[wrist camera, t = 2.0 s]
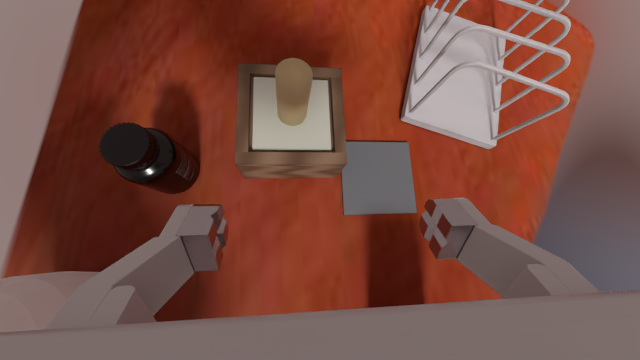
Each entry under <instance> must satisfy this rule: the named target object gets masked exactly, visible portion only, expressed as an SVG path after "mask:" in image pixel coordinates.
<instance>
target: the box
mask: <svg viewBox="0 0 640 360" xmlns="http://www.w3.org/2000/svg"><path fill="white" fill-rule="evenodd" d="M276 67H277V65H269V64H251V63H239V67H238V95H237V124H236V152H235V164H236V166H237V167H238V168H239V170H240V171H241V173H242V174H243V176H244V177H245V178H335V177H336V176H337V175H338V174H339V173H340V171H341V170H342V169H343V168H344V167H345V166H346V165H347V152H346V137H345V121H344V106H343V90H342V75H341V68H323V67H310V68H311V69H312V72H313V80H328V94H329V114H330V133H331V150H330V151H253V149H252V139H253V89H254V77H267V78H275V70H276Z"/></svg>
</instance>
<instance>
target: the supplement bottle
mask: <svg viewBox="0 0 640 360" xmlns="http://www.w3.org/2000/svg"><path fill="white" fill-rule="evenodd" d="M99 148H100V152H101V155H102V156H103V158H104V159H105V160H106V161H107V162H108V163H110V164H112V165H114V168H115V170H116V171H117V172H118V174H119V175H120V176H121V177H123V178H124V179H126V180H128V181H130V182H133V183H136V184H139V185H142V186H145V187H148V188H151V189H154V190H157V191H160V192H163V193H168V194H177V193H181V192H184V191H186V190H187V189H189V188H190V187H191V186H192V185H193V184H194V183H195V182H196V180H197V178H198V175H199V165H198V162H197V160H196V159H195V157H194V156H193V155H192V154H191V153H190V152H188V151H187V150H186V149H185V148H184V147H182V146H181V145H180V144H179V143H177V142H176V141H175V140H174V139H172V138H171V137H170V136H169V135H167V134H166V133H164V132H163V131H161V130H158V129H155V128H143V127H141V126H140V125H137V124H135V123H122V124H120V123H119V124H117V125H114V126H113V127H110V128H109V130H107V131H106V132H105V133H104V134H103V137H102V138H101V141H100V146H99Z"/></svg>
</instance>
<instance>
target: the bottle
mask: <svg viewBox="0 0 640 360" xmlns="http://www.w3.org/2000/svg"><path fill="white" fill-rule="evenodd" d="M98 273H100V272H81V271H62V272H52V273H42V274H33V275H23V276H13V277H9V278H4V279H0V332H15V331H30V330H45V328H46V327H47V326H48V325H49V323H50V322H51V321H52V319H53V318H54V317H55V316H56V314H57V313H58V312H59V310H60V309H61V308H62V307H63V305H64V304H65V303H66V301H67V300H68V299H69V298H70V296H71V295H72V294H73V292H74V291H75V290H76V289H77V287H78V286H80V285H81V284H83V283H85V282H86V281H88V280H89V279H91V278H92V277H94V276H95V275H97V274H98Z"/></svg>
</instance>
